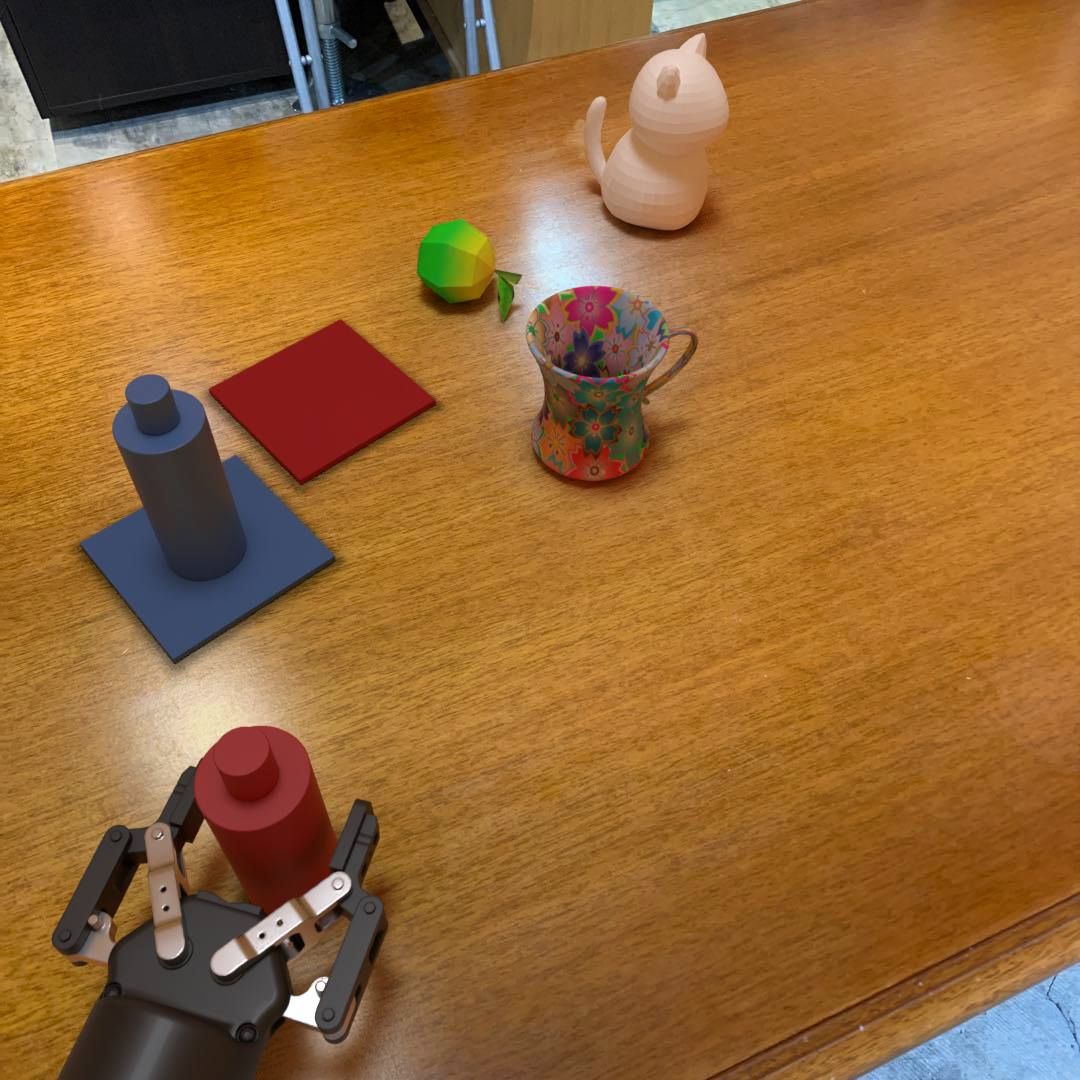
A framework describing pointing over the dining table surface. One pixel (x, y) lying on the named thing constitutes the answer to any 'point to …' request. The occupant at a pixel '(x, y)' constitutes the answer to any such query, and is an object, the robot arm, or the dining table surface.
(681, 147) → the cat figurine
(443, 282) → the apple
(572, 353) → the mug
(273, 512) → the blue mat
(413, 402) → the red mat
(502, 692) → the dining table surface
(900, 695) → the dining table surface
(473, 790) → the dining table surface
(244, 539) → the blue bottle
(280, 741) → the red bottle
